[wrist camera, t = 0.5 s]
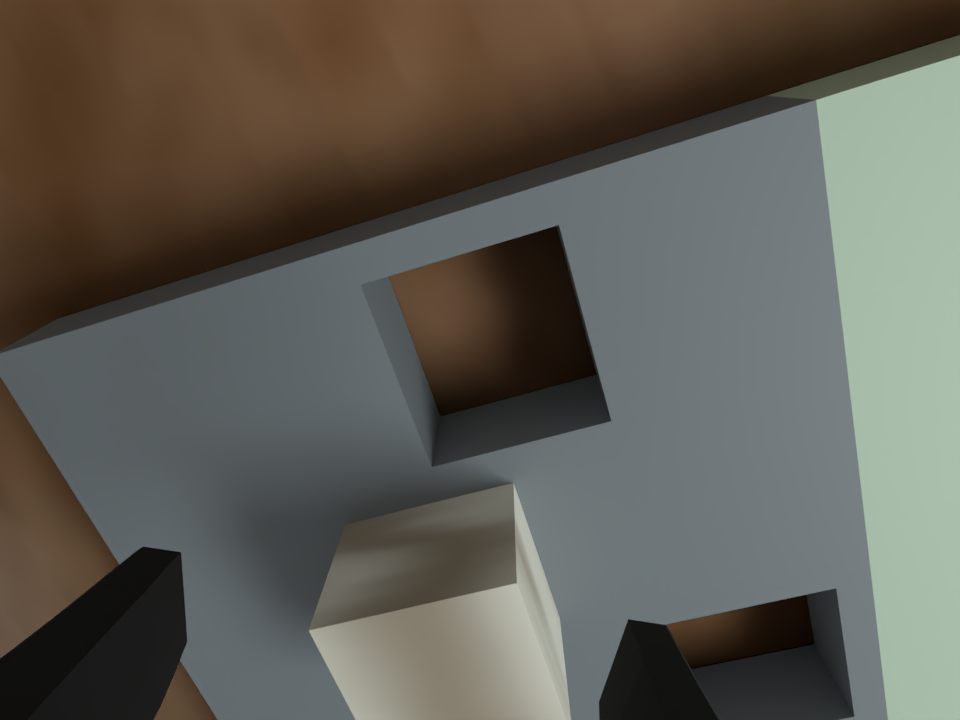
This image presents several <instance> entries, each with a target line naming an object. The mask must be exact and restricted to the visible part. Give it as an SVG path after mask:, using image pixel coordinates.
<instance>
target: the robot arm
mask: <svg viewBox="0 0 960 720" xmlns="http://www.w3.org/2000/svg"><path fill="white" fill-rule="evenodd" d="M186 644H187V629H186V615H185V600H184V586H183V571H182V557H181V552H176V551H170V550H163V549H156V548H150V547H141V548H140V549H138V550H137V551H136V552H134V553H133V554H132V555H131V556H129V557H128V558H127V559H126V560H124V561H123V562H122V563H121V564H119V565H118V566H117V567H116V568H115V569H113V570H112V571H111V572H110V573H108V574H107V575H106V576H105V577H104V578H102V579H101V580H100V581H99V582H97V583H96V584H95V585H94V586H93V587H91V588H90V589H89V590H88V591H86V592H85V593H84V594H83V595H81V596H80V597H79V598H78V599H76V600H75V601H74V602H73V603H71V604H70V605H69V606H68V607H66V608H65V609H64V610H63V611H61V612H60V613H59V614H58V615H56V616H55V617H54V618H53V619H51V620H50V621H49V622H47V623H46V624H45V625H44V626H42V627H41V628H40V629H38V630H37V631H36V632H34V633H33V634H32V635H31V636H29V637H28V638H27V639H25V640H24V641H23V642H22V643H20V644H19V645H18V646H16V647H15V648H14V649H12V650H11V651H10V652H8V653H7V654H6V655H4V656H3V657H2V658H0V720H153V719H154V717H155V715H156V714H157V712H158V710H159V708H160V706H161V704H162V701H163V699H164V697H165V694H166V692H167V690H168V687H169V685H170V683H171V680H172V678H173V676H174V673H175V671H176V668H177V666H178V663H179V661H180V659H181V656H182V654H183V651H184V649H185V646H186ZM599 720H720V719H719V717H718V715H717V714H716V712H715V710H714V709H713V707H712V705H711V703H710V702H709V700H708V698H707V696H706V695H705V693H704V691H703V689H702V688H701V686H700V684H699V682H698V681H697V679H696V677H695V675H694V674H693V672H692V670H691V668H690V666H689V665H688V663H687V661H686V659H685V657H684V656H683V654H682V652H681V650H680V648H679V646H678V645H677V643H676V641H675V639H674V637H673V636H672V634H671V632H670V630H669V629H668V628H667V626H666V625H663V624H656V623H650V622H643V621H636V620H630V619H628V621H627V624H626V627H625V630H624V633H623V635H622V638H621V641H620V644H619V647H618V650H617V652H616V655H615V658H614V661H613V664H612V666H611V669H610V672H609V675H608V678H607V681H606V683H605V686H604V689H603V692H602V695H601V698H600V700H599Z"/></svg>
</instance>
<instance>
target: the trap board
mask: <svg viewBox="0 0 960 720" xmlns="http://www.w3.org/2000/svg"><path fill="white" fill-rule="evenodd" d="M554 226H557V230H558V233H559V237H560V241H561V245H562V248H563V252H564V256H565V259H566V263H567V267H568V271H569V274H570V278H571V282H572V285H573V289H574V293H575V297H576V300H577V304H578V308H579V311H580V315H581V319H582V323H583V326H584V330H585V334H586V337H587V341H588V345H589V349H590V352H591V356H592V360H593V363H594V367H595V371H596V375H593V376H590V377H586V378H582V379H578V380H575V381H571V382H567V383H564V384H560V385H556V386H552V387H549V388H545V389H541V390H537V391H534V392H530V393H526V394H522V395H519V396H515V397H511V398H507V399H504V400H500V401H496V402H492V403H489V404H485V405H481V406H478V407H474V408H470V409H466V410H463V411H459V412H455V413H451V414H448V415H444V416H440V413H439V411H438V408H437V405H436V403H435V400H434V397H433V395H432V392H431V389H430V387H429V384H428V381H427V379H426V376H425V373H424V371H423V368H422V365H421V363H420V360H419V357H418V354H417V352H416V349H415V346H414V344H413V341H412V338H411V336H410V333H409V330H408V328H407V325H406V322H405V320H404V317H403V314H402V312H401V309H400V306H399V304H398V301H397V298H396V296H395V293H394V290H393V288H392V285H391V282H390V280H389V277H388V276H391V275H395V274H398V273H401V272H405V271H408V270H411V269H415V268H418V267H421V266H425V265H428V264H431V263H435V262H438V261H441V260H444V259H448V258H451V257H454V256H458V255H461V254H464V253H468V252H471V251H474V250H478V249H481V248H484V247H488V246H491V245H494V244H498V243H501V242H504V241H508V240H511V239H514V238H518V237H521V236H524V235H528V234H531V233H534V232H537V231H541V230H544V229H547V228H551V227H554ZM0 377H1V379H2V380H3V382H4V383H5V385H6V386H7V388H8V390H9V391H10V393H11V394H12V396H13V398H14V399H15V401H16V402H17V404H18V405H19V407H20V409H21V410H22V412H23V413H24V415H25V416H26V418H27V420H28V421H29V423H30V424H31V426H32V428H33V429H34V431H35V432H36V434H37V435H38V437H39V439H40V440H41V442H42V443H43V445H44V446H45V448H46V450H47V451H48V453H49V454H50V456H51V458H52V459H53V461H54V462H55V464H56V465H57V467H58V469H59V470H60V472H61V473H62V475H63V476H64V478H65V480H66V481H67V483H68V484H69V486H70V488H71V489H72V491H73V492H74V494H75V495H76V497H77V499H78V500H79V502H80V503H81V505H82V506H83V508H84V510H85V511H86V513H87V514H88V516H89V518H90V519H91V521H92V522H93V524H94V525H95V527H96V529H97V530H98V532H99V533H100V535H101V536H102V538H103V540H104V541H105V543H106V544H107V546H108V547H109V549H110V551H111V552H112V554H113V555H114V557H115V559H116V560H117V562H118V563H119V564H121V563H122V562H123V561H124V560H126V559H127V558H128V557H129V556H131V555H132V554H133V553H134V552H136V551H137V550H138V549H140V548H141V547H150V548H156V549H163V550H170V551H176V552H181V557H182V571H183V586H184V600H185V615H186V629H187V644H186V646H185V649H184V651H183V654H182V656H181V659H180V661H181V663H182V664H183V666H184V667H185V669H186V671H187V672H188V674H189V675H190V677H191V679H192V680H193V682H194V683H195V685H196V686H197V688H198V690H199V691H200V693H201V694H202V696H203V697H204V699H205V701H206V702H207V704H208V705H209V707H210V709H211V710H212V712H213V713H214V715H215V716H216V718H217V720H355V718H354V716H353V714H352V712H351V710H350V708H349V706H348V704H347V703H346V701H345V699H344V697H343V695H342V693H341V691H340V689H339V687H338V685H337V684H336V682H335V680H334V678H333V676H332V674H331V672H330V670H329V668H328V666H327V665H326V663H325V661H324V659H323V657H322V655H321V653H320V651H319V649H318V647H317V646H316V644H315V642H314V640H313V638H312V636H311V634H310V632H309V628H310V625H311V622H312V619H313V616H314V613H315V610H316V608H317V605H318V602H319V599H320V596H321V593H322V590H323V587H324V584H325V581H326V578H327V575H328V573H329V570H330V567H331V564H332V561H333V558H334V555H335V552H336V549H337V546H338V543H339V541H340V538H341V535H342V532H343V529H344V526H345V525H346V524H350V523H354V522H358V521H362V520H366V519H370V518H374V517H378V516H382V515H386V514H390V513H394V512H398V511H402V510H406V509H410V508H414V507H418V506H422V505H426V504H430V503H434V502H438V501H442V500H446V499H450V498H454V497H458V496H462V495H466V494H470V493H474V492H478V491H482V490H486V489H490V488H494V487H498V486H502V485H506V484H510V483H514V486H515V489H516V492H517V494H518V497H519V500H520V503H521V506H522V509H523V512H524V515H525V518H526V521H527V524H528V527H529V530H530V532H531V535H532V538H533V541H534V544H535V547H536V550H537V553H538V556H539V559H540V562H541V565H542V568H543V570H544V573H545V576H546V579H547V582H548V585H549V588H550V591H551V594H552V597H553V600H554V603H555V605H556V608H557V611H558V614H559V617H560V624H561V633H562V642H563V651H564V660H565V669H566V678H567V687H568V696H569V705H570V715H571V720H599V700H600V698H601V695H602V692H603V689H604V686H605V683H606V681H607V678H608V675H609V672H610V669H611V666H612V664H613V661H614V658H615V655H616V652H617V650H618V647H619V644H620V641H621V638H622V635H623V633H624V630H625V627H626V624H627V621H628V619H630V620H636V621H643V622H650V623H656V624H663V625H666V624H670V623H675V622H680V621H684V620H689V619H694V618H698V617H703V616H708V615H713V614H717V613H722V612H727V611H731V610H736V609H741V608H746V607H750V606H755V605H760V604H764V603H769V602H774V601H779V600H783V599H788V598H793V597H797V596H802V595H807V601H808V607H809V614H810V620H811V626H812V632H813V638H814V644H813V645H808V646H803V647H798V648H794V649H789V650H784V651H779V652H774V653H769V654H764V655H759V656H754V657H749V658H744V659H739V660H734V661H729V662H724V663H719V664H714V665H709V666H704V667H699V668H694V669H691V670H692V672H693V674H694V675H695V677H696V679H697V681H698V682H699V684H700V686H701V688H702V689H703V691H704V693H705V695H706V696H707V698H708V700H709V702H710V703H711V705H712V707H713V709H714V710H715V712H716V714H717V715H718V717H719V719H720V720H960V35H958V36H955V37H951V38H948V39H945V40H942V41H939V42H935V43H932V44H929V45H926V46H923V47H920V48H916V49H913V50H910V51H907V52H904V53H901V54H897V55H894V56H891V57H888V58H885V59H881V60H878V61H875V62H872V63H869V64H866V65H862V66H859V67H856V68H853V69H850V70H846V71H843V72H840V73H837V74H834V75H831V76H827V77H824V78H821V79H818V80H815V81H812V82H808V83H805V84H802V85H799V86H796V87H792V88H789V89H786V90H783V91H780V92H777V93H773V94H770V95H767V96H764V97H761V98H757V99H754V100H751V101H748V102H745V103H742V104H738V105H735V106H732V107H729V108H726V109H722V110H719V111H716V112H713V113H710V114H707V115H703V116H700V117H697V118H694V119H691V120H688V121H684V122H681V123H678V124H675V125H672V126H668V127H665V128H662V129H659V130H656V131H653V132H649V133H646V134H643V135H640V136H637V137H633V138H630V139H627V140H624V141H621V142H618V143H614V144H611V145H608V146H605V147H602V148H599V149H595V150H592V151H589V152H586V153H583V154H579V155H576V156H573V157H570V158H567V159H564V160H560V161H557V162H554V163H551V164H548V165H544V166H541V167H538V168H535V169H532V170H529V171H525V172H522V173H519V174H516V175H513V176H510V177H506V178H503V179H500V180H497V181H494V182H490V183H487V184H484V185H481V186H478V187H475V188H471V189H468V190H465V191H462V192H459V193H455V194H452V195H449V196H446V197H443V198H440V199H436V200H433V201H430V202H427V203H424V204H420V205H417V206H414V207H411V208H408V209H405V210H401V211H398V212H395V213H392V214H389V215H386V216H382V217H379V218H376V219H373V220H370V221H366V222H363V223H360V224H357V225H354V226H351V227H347V228H344V229H341V230H338V231H335V232H331V233H328V234H325V235H322V236H319V237H316V238H312V239H309V240H306V241H303V242H300V243H297V244H293V245H290V246H287V247H284V248H281V249H277V250H274V251H271V252H268V253H265V254H262V255H258V256H255V257H252V258H249V259H246V260H242V261H239V262H236V263H233V264H230V265H227V266H223V267H220V268H217V269H214V270H211V271H208V272H204V273H201V274H198V275H195V276H192V277H188V278H185V279H182V280H179V281H176V282H173V283H169V284H166V285H163V286H160V287H157V288H153V289H150V290H147V291H144V292H141V293H138V294H134V295H131V296H128V297H125V298H122V299H118V300H115V301H112V302H109V303H106V304H103V305H99V306H96V307H93V308H90V309H87V310H84V311H80V312H77V313H74V314H71V315H68V316H64V317H61V318H58V319H56V320H54V321H52V322H51V323H49V324H47V325H45V326H43V327H41V328H40V329H38V330H36V331H34V332H32V333H31V334H29V335H27V336H25V337H23V338H22V339H20V340H18V341H16V342H14V343H13V344H11V345H9V346H7V347H5V348H4V349H2V350H0Z"/></svg>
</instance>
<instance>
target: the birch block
mask: <svg viewBox="0 0 960 720" xmlns="http://www.w3.org/2000/svg"><path fill="white" fill-rule="evenodd" d="M309 632H310V634H311V636H312V638H313V640H314V642H315V644H316V646H317V647H318V649H319V651H320V653H321V655H322V657H323V659H324V661H325V663H326V665H327V666H328V668H329V670H330V672H331V674H332V676H333V678H334V680H335V682H336V684H337V685H338V687H339V689H340V691H341V693H342V695H343V697H344V699H345V701H346V703H347V704H348V706H349V708H350V710H351V712H352V714H353V716H354V718H355V720H571V715H570V705H569V696H568V687H567V678H566V669H565V660H564V651H563V642H562V633H561V624H560V617H559V614H558V611H557V608H556V605H555V603H554V600H553V597H552V594H551V591H550V588H549V585H548V582H547V579H546V576H545V573H544V570H543V568H542V565H541V562H540V559H539V556H538V553H537V550H536V547H535V544H534V541H533V538H532V535H531V532H530V530H529V527H528V524H527V521H526V518H525V515H524V512H523V509H522V506H521V503H520V500H519V497H518V494H517V492H516V489H515V486H514V483H510V484H506V485H502V486H498V487H494V488H490V489H486V490H482V491H478V492H474V493H470V494H466V495H462V496H458V497H454V498H450V499H446V500H442V501H438V502H434V503H430V504H426V505H422V506H418V507H414V508H410V509H406V510H402V511H398V512H394V513H390V514H386V515H382V516H378V517H374V518H370V519H366V520H362V521H358V522H354V523H350V524H346V525H345V526H344V529H343V532H342V535H341V538H340V541H339V543H338V546H337V549H336V552H335V555H334V558H333V561H332V564H331V567H330V570H329V573H328V575H327V578H326V581H325V584H324V587H323V590H322V593H321V596H320V599H319V602H318V605H317V608H316V610H315V613H314V616H313V619H312V622H311V625H310V628H309Z"/></svg>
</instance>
